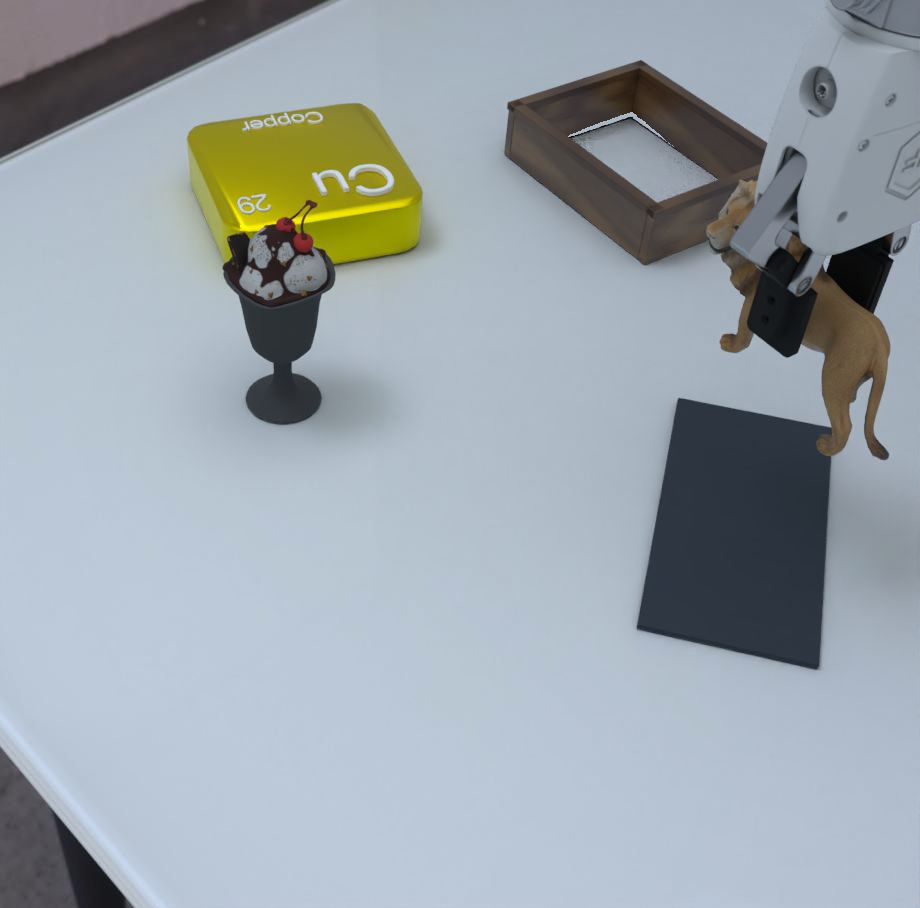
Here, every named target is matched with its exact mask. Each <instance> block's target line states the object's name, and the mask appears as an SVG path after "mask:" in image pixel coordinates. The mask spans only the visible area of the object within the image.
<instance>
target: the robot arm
mask: <svg viewBox="0 0 920 908" xmlns="http://www.w3.org/2000/svg"><path fill="white" fill-rule="evenodd" d="M824 4H825V6H824V7H822V8H821V9H820V10H819V11H818V13H817V15H816V17H815V19H814V22H813V24H812V26H811V27H810V30H809V33H808V35H807V37H806V38H805V41H804V43H803V46H802V48H801V51H800V53H799V56H798V58H797V60H796V61H795V62H796V63H795V65H794V67H793V71H792V73H791V75H790V78H789V80H788V82H787V85H786V87H785V91H784V92H783V95H782V99H781V102H780V104H779V107H778V110H777V113H776V116H775V119H774V121H773V123H772V124H773V125H772V127H771V131H770V133H769V137H768V140H767V147H766V150H765V153H764V157H763V160H762V164H761V168H760V172H759V177H758V181H757V186H756V192H755V206H754V207H753V209H752V210H751V212H750V213H749V214H748V216H747V217H746V218H745V220H744V221H743V223H742V224H741V225H740V227H739V228H738V229H737V231H736V232H735V234H734V235H733V237H732V238H731V241H730V246H731V247H732V248H733V249H734V250H736V251H737V252H739V253H740V254H741V255H743V256H744V257H745V258H747V259H748V260H749V261H751V262H753V263H755V265H756V267H757V268H759V269H760V270H761V275H760V278H759V282H758V285H757V288H756V292H755V295H754V298H753V302H752V305H751V309H750V312H749V315H748V319H747V326H748V328H749V330H750V331H752V332H753V333H754V335H755V336H757V337H758V338H759V339H760V340H762V341H763V342H764V343H766V344H767V345H768V346H770V348H772V349H773V350H774V351H776V352H777V353H778V354H780V355H781V356H782V357H784V358H786V359H788V358H790V357H793V356H795V355H797V354H798V353H799V351H800V349H801V346H802V344H801V343H802V340H803V337H804V334H805V331H806V328H807V325H808V322H809V319H810V316H811V313H812V310H813V307H814V304H815V301H816V299H817V295H818V293H817V292H816V291H815V290H814V289H813V288H811V286H812V284H813V282H814V280H815V278H816V276H817V274H818V272H819V270H820V268H821V266H822V264H823V265H824V262H825V261H826V259H827V257H828V256H830V258H829V261H828V264H827V268H826V269H825V271H826V273H827V274H828V275H829V276H830V277H831V278H832V279H833V280H834V281H835V282H836V283H837V285H838V286H839V287H840V288H841V289H842V290H843V291H844V292H845V293H846V294H847V295H848V296H849V297H850V298H851V299H852V300H854V301H855V302H856V303H857V304H859V305H860V306H862V307H863V308H864V309H866V310H868V311H869V312H871V313H872V314H874V315H875V312H876V309H877V307H878V303H879V301H880V298H881V296H882V293H883V291H884V288H885V285H886V282H887V280H888V278H889V275H890V272H891V269H892V267H893V264H894V262H895V260H894V259H893V258H892V257H894V256H897V255H899V254H900V253H902V252H903V250H904V249H905V248H906V247H907V244H908V242H909V239H910V235H911V230H912V225H913V224H916V223H918V222H920V0H824ZM793 234H794V235H795V236H796V237H798V238H799V239H801V242H802V243H803V244H805V245H806V248H805V250H804V252H803V254H802V256H801V258H800V260H799V262H797V260H796V259H795V258H794V257H793V256H792V255H791V253H789V252H788V251H786V248H787V245H788V243H789V241H790V239H791V237H792V235H793ZM890 255H891V256H892V257H890Z"/></svg>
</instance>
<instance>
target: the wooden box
mask: <svg viewBox="0 0 920 908" xmlns="http://www.w3.org/2000/svg"><path fill="white" fill-rule="evenodd" d="M506 105H507V106H506V110H507V111H508V112H507V113H508V114H507V123H506V133H505V142H504V150H503V151H504V152H503V154H505V155H504V156H506V157H507V158H508V159H510V160H511V161H512V162H513V163H515V164H516V165H517V166H519V167H520V168H521V169H522V170H524V171H525V172H526V173H527V174H529V175H530V176H531V177H533V178H534V179H535V180H536V181H537V182H539V183H540V184H541V185H542V186H544V187H546V189H548V190H549V191H550V192H552V194H554V195H555V196H557V197H558V198H559V199H560V200H562V201H563V202H564V203H565V204H567V205H568V206H569V207H570V208H572V209H573V210H574V211H576V212H577V213H578V214H579V215H580V216H582V217H583V218H585V219H586V220H587V221H588V222H589V223H591V224H592V225H593V226H594V227H596V228H597V229H599V230H600V231H601V232H602V233H604V235H606V236H607V237H609V238H610V239H611V240H612V241H614V242H615V243H616V244H617V245H619V246H620V247H621V248H623V249H624V250H625V251H626V252H628V253H629V254H630V255H631V256H633V257H634V258H635V259H636V260H638V261H639V262H640V263H642V264H643V265H644V266H645V265H649V264H650V263H654V262H656V261H658V260H661V259H664V258H666V257H668V256H671V255H673V254H676V253H678V252H681V251H684V250H686V249H689V248H691V247H694V246H697V245H698V244H700V243H703V242H706V241H709V239H710V238H709V237H708V236H707V234H706V229H707V226H708V225H709V224H711V223H713V222H715V221H717V220H719V212H720V211H721V210H722V209H723V207H724V206H725V204H726V203H727V201H728V199H729V198H730V197H731V194H732V193H734V192H735V190H736V188H737V186H738V183H739V180H743V181H745V182H749V181H751V180H753V181H758V177H759V172H760V168H761V164H762V160H763V157H764V153H765V150H766V147H767V143H768V141H765V140H764V139H763V138H762V137H760V136H758V135H756V134H755V133H754V132H752V131H750V130H749V129H747V128H746V127H744V126H743V125H741V124H740V123H738V122H737V121H735V120H734V119H732V118H730V117H729V116H728V115H726V114H724V113H723V112H721V111H719V109H717V108H715V107H714V106H713V105H711V104H709V103H707V102H706V101H705V100H703V99H702V98H700V97H699V96H697V95H696V94H694V93H692V92H691V91H689V90H688V89H686V88H685V87H683V86H682V85H680V84H679V83H677V82H676V81H674V80H673V79H671V78H669V77H668V76H666V75H665V74H663V73H662V72H660V71H659V70H657V69H656V68H654V67H652V66H651V65H649V64H648V63H647V62H645V61H644V60H642V59H640V60H636V61H633V62H630V63H626V64H624V65H620V66H617V67H614V68H611V69H608V70H605V71H601V72H598V73H595V74H593V75H589V76H586V77H583V78H579V79H577V80H574V81H570V82H567V83H563V84H561V85H558V86H554V87H552V88H551V87H550V88H548V89H545V90H542V91H539V92H535V93H533V94H530V95H526V96H523V97H520V98H515V99H513V100H510V101H508V102H507V104H506ZM630 112H633V113H634V114H636V115H637V117H638V118H640V119H642V120H643V121H645V122H646V124H648V125H649V126H650V127H651V128H652V129H654V130H655V131H656V132H657V133H659V134H660V135H661V136H662V137H663V138H664V139H665V140H666V141H667V142H669V143H670V144H671V145H673V146H674V147H673V148H674V149H675V148H676V149H677V150H676V149H675V150H676V151H678V152H680V153H681V154H682V155H683V156H685V157H686V158H688V159H689V160H690V161H692V162H693V163H695V164H696V165H698V166H699V167H701V168H702V169H704V170H705V171H707V173H709V174H711V175H712V176H713V177H715V178H717V179H716V180H713V181H711V182H708V183H706V184H702V185H700V186H698V187H696V188H693V189H691V190H688V191H685V192H682V193H679V194H677V195H674V196H671V197H669V198H666V199H663V200H661V201H658V202H657V201H656V200H655V199H653V198H652V197H651V196H649V195H648V194H646V193H645V192H643V191H642V190H641V189H640V188H638V187H637V186H635V185H634V184H633V183H631V182H630V181H629V180H627V179H626V178H625V177H624V176H622V175H621V174H619V173H618V172H617V171H615V170H614V169H613V168H611V167H610V166H608V165H607V164H606V163H605V162H603V161H602V160H600V159H599V158H598V157H596V156H595V155H593V153H591V152H589V151H588V150H587V149H586V148H584V147H583V146H581V145H580V144H579V143H578V142H576V141H574V140H573V139H572V137H571V138H569V137H568V136H569V135H570V134H573V133H576V132H578V131H581V130H582V129H585V128H587V127H590V126H593V125H595V124H598V123H600V122H603V121H607V120H610V119H612V118H615V117H618V116H620V115H624V114H627V113H630ZM671 145H670V146H671Z"/></svg>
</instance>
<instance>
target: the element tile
mask: <svg viewBox="0 0 920 908" xmlns="http://www.w3.org/2000/svg"><path fill="white" fill-rule="evenodd" d="M186 145H187V155H188V167H189V177H190V178H189V179H190V185H191V187H192V190H193V192H194V194H195V197H196V199H197V201H198V204H199V206H200V209H201V211H202V214H203V216H204V218H205V220H206V223H207V226H208V228H209V230H210V232H211V235H212V237H213V240H214V243H215V245H216V247H217V250H218V251H219V254H220V257H221V259H222V261H223V263H224V264H225V263H226V262H228V261H229V260H230V258H231V257H232V254H231V251H230V248H229V245H228V242H227V236H230V235H234V234H236V233H237V234H239V233H242V232H245V233H246V234H247V235H248V237H249V238H250V239H251V238H252V237H253V236H254V235H255V234H256V233H257V232H258V231H259V230H260V229H261V228H263V227H264V226H265V225H271V224H276V222H277V221H278V219H280V218H283V217H288V218H291V217H292V216H294V215H295V214H296V213H298V212H299V210H300V209H301V208H302V207H303V206H304V205H305V204H306V202H305V201H306V200H311V201H313V202H316V203H317V207H316V208H313V209H312V210H311V211H310V212H309V213H308V214H307V215H306V217H305V220H304V224H303V230H304V233H306V234H309V235H310V236H311V237H312V238H313V246H314V247H317V248H319V249H323V250H325V251H326V254H327V255H328V256H329V257H330V258H331V260H332V263H333V265H338V264H343V263H350V262H355V261H363V260H368V259H372V258H377V257H378V258H380V257H384V256H385V257H386V256H391V255H395V254H396V255H397V254H400V253H404V252H408V251H409V250H411V249H413V248H415V247H416V246H417V245H418V243H420V239H421V226H422V213H423V211H422V210H423V188H422V186H421V185H420V183H419V181H418V179H417V178H416V176H415V175H414V174H413V172H412V170H411V168H410V167H409V165H408V164H407V161H406V160H405V159H404V157H403V156H402V154H401V152H400V150H399V149H398V148H397V146H396V145H395V143H394V142H393V140H392V138H391V137H390V135H389V134H388V132H387V130H386V128H385V127H384V126H383V124H382V122H381V121H380V118H379V117H378V116H377V114H376V113H375V112H374V111H373V110H372V109H371V108H369V107H368V106H366V105H364V104H362V103H359V102H347V103H337V104H336V103H335V104H330V105H329V104H327V105H322V106H315V107H307V108H302V109H301V108H300V109H296V110H295V109H294V110H287V111H280V112H273V113H266V114H259V115H253V116H245V117H238V118H231V119H225V120H218V121H209V122H205V123H202V124H199V125H196V126H193V128H191V129H190V130H189V132H188V134H187V137H186ZM309 208H310V205H308V206H306V207H305V208H304V209H303V210H302V211H301V212H300V213H299V214H298V216H296V217H295V218H294V219H292V220H293V221H294V223H295V226H296V227H295V230H296V231H297V233H301V230H300V226H301V221H302V218H303V216H304V215H305V213H306V212H307V211H308V210H309ZM224 264H223V265H224Z"/></svg>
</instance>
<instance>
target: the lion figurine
mask: <svg viewBox="0 0 920 908" xmlns="http://www.w3.org/2000/svg"><path fill="white" fill-rule="evenodd" d="M756 186H757V181H753V180H751V181H749V182H745V181H743V180H739V183H738V186H737V188H736V190H735V192H734V193H732V194H731V197H730V198H729V199H728V201H727V203H726V204H725V206H724V207H723V209H722V210H721V211H720V212H719V220H717V221H715V222H713V223H711V224H709V225H708V226H707V229H706V234H707V236H708V237H709V238H710V239H709V240H708V243H707V246H706V247H707V250H708V251H709V253H710V254H712V255H720V259H721V261H722V263H724V264H725V265H726V266H727V268H729V269H730V272H731V273H730V275H729V281H730V283H731V285H732V286H733V287H734V289H736V290H737V291H739V294H740V295H742V296H743V297H744V301H743V303H742V307H741V310H740V312H739V313H740V314H739V318H738V324H737V331H736V333H733V332H732V333H723V334H722V335H721V337H720V339H719V345H720V350H722V351H724V352H727V353H731V354H738V353H740V352H741V353H742V351H744V350H746V349H748V348H749V347H750V345H751V343H752V340H753V337H754V335H755V334H754V333H753V332H752V331H750V330H749V328H748V326H747V319H748V315H749V312H750V309H751V305H752V302H753V298H754V295H755V292H756V288H757V285H758V282H759V278H760V275H761V270H760V269H759V268H757V267H756V265H755V263H753V262H751V261H749V260H748V259H747V258H745V257H744V256H743V255H741V254H740V253H739V252H737V251H736V250H734V249H733V248H732V247H731V246H730V241H731V238H732V237H733V235H734V234H735V232H736V231H737V229H738V228H739V227H740V225H741V224H742V223H743V221H744V220H745V218H746V217H747V216H748V214H749V213H750V212H751V210H752V209H753V207H754V206H755V192H756ZM805 248H806V245H805V244H803V243H802V242H801V239H799V238H798V237H796V236H795V235H794V234H793V235H792V237H791V239H790V241H789V243H788V245H787V248H786V251H788V252H789V253H791V255H792V256H793V257H794V258H795V259H796V260H797V262H799V260H800V258H801V256H802V254H803V252H804V250H805ZM824 266H825V265H824V263H823V264H822V266H821V268H820V270H819V272H818V274H817V276H816V278H815V280H814V282H813V284H812V286H811V288H813V289H814V290H815V291H816V292H817V293H818V295H817V299H816V301H815V304H814V307H813V310H812V313H811V316H810V319H809V322H808V325H807V328H806V331H805V334H804V337H803V340H802V343H801V346H803V347H805V348H807V349H809V350H811V351H814V352H817V353H820V354H823V356H824V358H823V359H824V360H823V364H822V368H821V397H822V400H823V403H824V407H825V410H826V414H827V417H828V419H829V423H830V426H831V428H832V435H828V434H821V435H820V436H819V439H818V440H817V443H816V445H817V449H818V451H819V452H820V453H822V454H823V455H825V456H831V457H832V456H833V457H834V456H836V455H838V454H840V453H841V452H842V451H843V450H844V449H845V448H846V445H847V444H848V441H849V437H850V435H851V432H852V429H853V423H852V420H851V415H850V407H851V404H853V403H855V402H856V400H857V395H858V392H859V389H860V387H861V386H862V385H863V384H865V383H866V382H867V381H869V380H870V379H872V382H871V386H870V390H869V395H868V397H867V398H868V399H867V405H866V409H865V415H864V423H863V433H864V439H865V442H866V446H867V449H868V451H869V452H870V454H871V455H872V457H874V458H877V459H878V460H880V461H887V460H888V459H889V457H890V453H889V451H888V449H887V448H886V447H885V446H884V445H883V444H882V443H881V442H880V441H879V439H877V437H876V435H875V430H874V428H875V423H876V419H877V413H878V410H879V407H880V404H881V401H882V397H883V394H884V391H885V387H886V382H887V375H888V368H889V358H890V354H891V341H890V336H889V334H888V331H887V330H886V328H885V325H884V323H883V321H882V320H881V319H880V318H879V317H878V316H877V315H876V314H875V313H874V314H872V313H871V312H869V311H868V310H866V309H864V308H863V307H862V306H860V305H859V304H857V303H856V302H855V301H854V300H852V299H851V298H850V297H849V296H848V295H847V294H846V293H845V292H844V291H843V290H842V289H841V288H840V287H839V286H838V285H837V283H836V282H835V281H834V280H833V279H832V278H831V277H830V276H829V275H828V274H827V273H826V269H825V267H824Z"/></svg>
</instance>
